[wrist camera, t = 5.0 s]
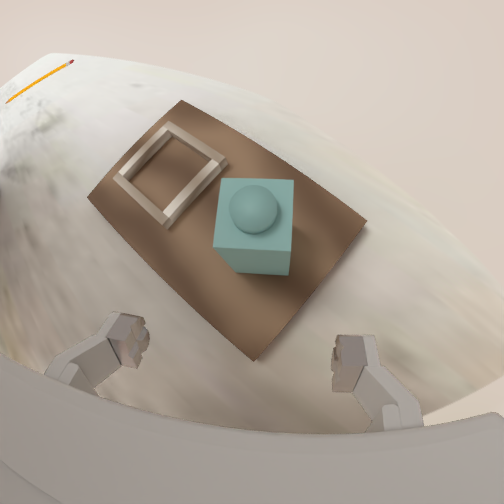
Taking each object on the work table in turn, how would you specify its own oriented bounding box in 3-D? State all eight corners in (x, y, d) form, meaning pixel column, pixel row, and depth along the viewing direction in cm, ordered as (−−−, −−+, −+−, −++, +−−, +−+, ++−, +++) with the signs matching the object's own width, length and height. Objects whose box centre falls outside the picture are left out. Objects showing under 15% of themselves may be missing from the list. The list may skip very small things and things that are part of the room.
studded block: (288, 275, 22) (291, 247, 14) (235, 272, 22) (208, 243, 14) (291, 224, 23) (294, 172, 15) (240, 222, 23) (218, 171, 15)
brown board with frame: (255, 359, 22) (252, 364, 20) (94, 202, 27) (80, 192, 25) (362, 226, 24) (371, 215, 21) (185, 108, 29) (178, 92, 26)
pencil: (73, 63, 36) (71, 61, 36) (5, 106, 37) (3, 104, 37) (74, 61, 36) (73, 58, 36) (6, 103, 38) (5, 101, 37)
